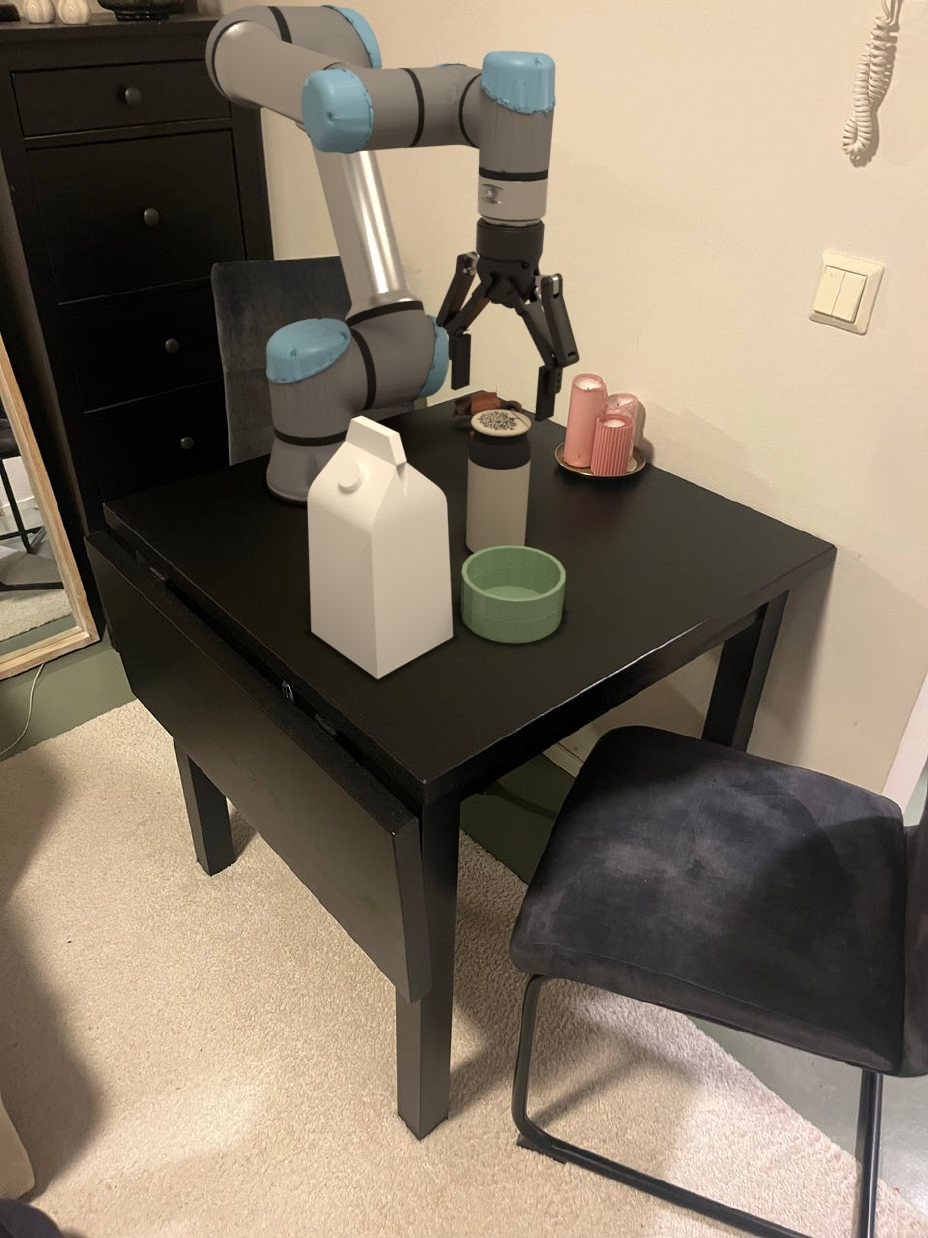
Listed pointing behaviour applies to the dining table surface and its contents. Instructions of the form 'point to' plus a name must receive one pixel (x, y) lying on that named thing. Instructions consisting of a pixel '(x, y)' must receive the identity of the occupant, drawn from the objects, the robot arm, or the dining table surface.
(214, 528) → the dining table surface
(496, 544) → the travel mug
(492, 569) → the pot
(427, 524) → the milk
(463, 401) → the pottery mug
